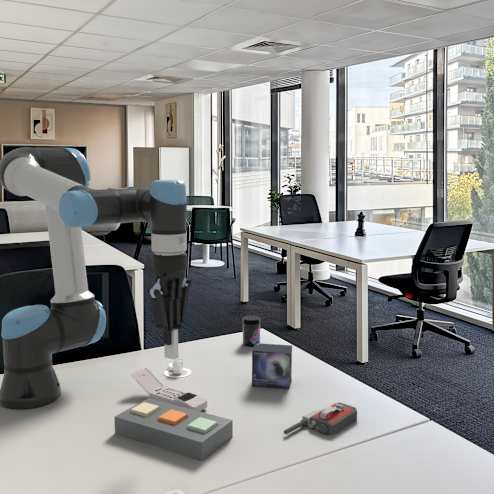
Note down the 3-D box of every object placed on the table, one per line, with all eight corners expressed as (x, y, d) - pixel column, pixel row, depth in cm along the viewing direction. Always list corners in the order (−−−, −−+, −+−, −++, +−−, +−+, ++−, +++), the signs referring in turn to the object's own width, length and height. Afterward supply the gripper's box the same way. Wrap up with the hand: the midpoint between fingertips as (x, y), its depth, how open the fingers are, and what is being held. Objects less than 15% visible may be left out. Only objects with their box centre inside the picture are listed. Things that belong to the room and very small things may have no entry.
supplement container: (246, 347, 194) (246, 321, 193) (240, 342, 199) (240, 316, 198) (262, 345, 196) (262, 319, 195) (256, 340, 201) (256, 314, 200)
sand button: (131, 427, 137) (131, 409, 136) (144, 419, 141) (144, 402, 140) (147, 432, 135) (146, 413, 134) (159, 424, 139) (159, 406, 138)
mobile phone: (145, 367, 161) (215, 388, 145) (146, 387, 162) (215, 411, 146) (128, 373, 156) (198, 397, 141) (129, 395, 157) (199, 420, 142)
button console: (115, 433, 135) (114, 416, 134) (149, 413, 145) (148, 397, 144) (202, 460, 123) (201, 442, 122) (232, 436, 133) (232, 420, 132)
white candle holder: (167, 368, 177) (166, 354, 176) (193, 368, 176) (193, 355, 176) (161, 379, 168) (161, 365, 168) (189, 379, 168) (189, 365, 167)
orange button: (158, 435, 133) (158, 416, 132) (171, 427, 137) (171, 409, 136) (175, 440, 131) (175, 421, 130) (187, 432, 135) (187, 413, 134)
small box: (250, 387, 161) (251, 350, 160) (254, 378, 168) (254, 342, 166) (289, 389, 160) (290, 352, 158) (292, 380, 166) (292, 344, 164)
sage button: (187, 444, 129) (187, 425, 128) (200, 435, 133) (199, 417, 132) (205, 449, 127) (205, 430, 126) (217, 440, 131) (217, 421, 130)
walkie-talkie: (331, 408, 148) (280, 436, 134) (331, 392, 148) (280, 418, 133) (361, 419, 143) (312, 449, 128) (362, 401, 142) (312, 430, 127)
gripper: (164, 258, 120) (166, 369, 124) (201, 249, 131) (202, 351, 135) (135, 255, 124) (138, 363, 127) (174, 246, 135) (175, 346, 138)
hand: (171, 357), depth 131 cm, fingers closed
